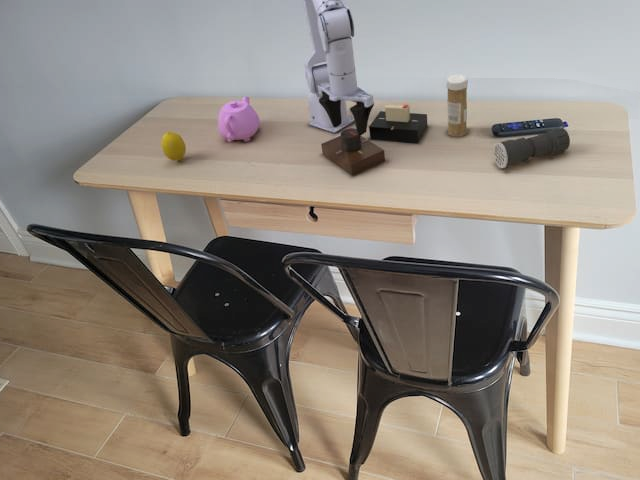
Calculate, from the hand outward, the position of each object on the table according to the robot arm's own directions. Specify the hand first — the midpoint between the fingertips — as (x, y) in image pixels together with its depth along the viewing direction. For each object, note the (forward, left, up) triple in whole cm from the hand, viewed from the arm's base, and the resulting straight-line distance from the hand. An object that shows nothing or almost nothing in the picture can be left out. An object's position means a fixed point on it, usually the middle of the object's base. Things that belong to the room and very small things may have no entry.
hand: (349, 129), depth 129 cm
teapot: (-34, -5, -8) cm, 35 cm away
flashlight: (+34, +20, -8) cm, 40 cm away
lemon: (-38, -23, -8) cm, 45 cm away
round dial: (0, 0, -4) cm, 4 cm away
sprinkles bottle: (+14, +22, -8) cm, 27 cm away
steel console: (+2, +15, -7) cm, 16 cm away
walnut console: (0, 0, -7) cm, 7 cm away
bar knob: (+2, +15, -4) cm, 15 cm away
